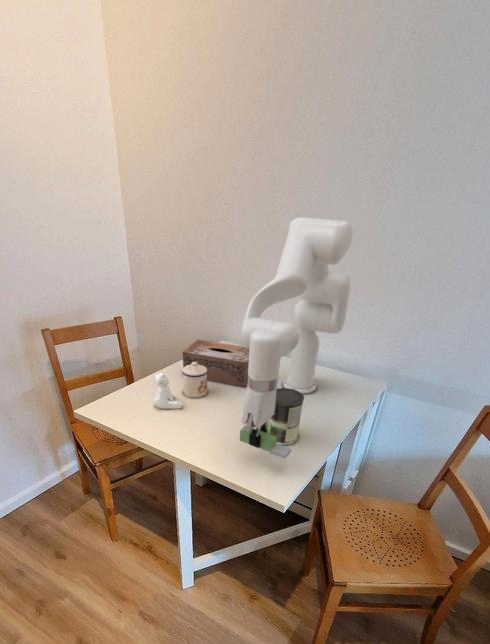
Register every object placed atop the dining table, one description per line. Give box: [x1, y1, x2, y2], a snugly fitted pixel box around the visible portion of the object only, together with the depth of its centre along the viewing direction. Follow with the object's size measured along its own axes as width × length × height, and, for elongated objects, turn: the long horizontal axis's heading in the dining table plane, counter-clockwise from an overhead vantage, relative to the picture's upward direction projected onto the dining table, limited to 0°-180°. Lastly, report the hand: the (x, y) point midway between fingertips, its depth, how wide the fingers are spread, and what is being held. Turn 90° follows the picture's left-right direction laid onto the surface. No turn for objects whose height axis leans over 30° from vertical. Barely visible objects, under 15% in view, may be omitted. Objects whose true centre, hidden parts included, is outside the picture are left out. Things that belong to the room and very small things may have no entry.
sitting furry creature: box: [153, 372, 182, 410], centre depth 131 cm, size 10×9×12 cm
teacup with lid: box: [181, 362, 208, 398], centre depth 140 cm, size 12×9×12 cm
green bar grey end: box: [239, 425, 292, 459], centre depth 104 cm, size 14×4×4 cm, turn 57°
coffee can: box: [266, 387, 305, 446], centre depth 117 cm, size 10×10×14 cm
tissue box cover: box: [182, 339, 249, 388], centre depth 152 cm, size 26×14×10 cm, turn 70°
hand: (257, 442), depth 106 cm, fingers closed on green bar grey end, 2 cm apart
